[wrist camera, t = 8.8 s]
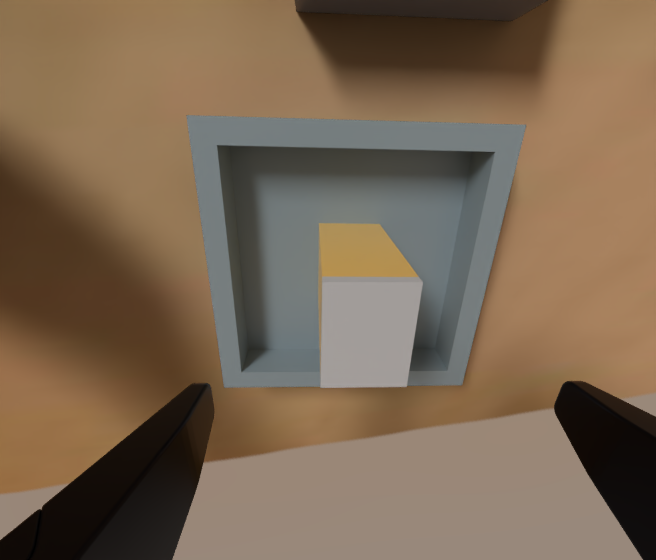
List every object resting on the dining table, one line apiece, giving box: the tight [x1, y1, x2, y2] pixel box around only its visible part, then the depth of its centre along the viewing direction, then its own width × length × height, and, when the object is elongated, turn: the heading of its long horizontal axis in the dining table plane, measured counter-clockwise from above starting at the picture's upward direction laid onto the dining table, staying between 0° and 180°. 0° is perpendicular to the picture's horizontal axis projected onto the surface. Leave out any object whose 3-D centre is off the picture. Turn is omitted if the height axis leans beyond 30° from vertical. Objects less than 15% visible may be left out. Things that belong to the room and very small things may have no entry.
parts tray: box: [186, 115, 526, 388], centre depth 16 cm, size 13×13×3 cm
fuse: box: [318, 223, 423, 388], centre depth 14 cm, size 3×4×7 cm
